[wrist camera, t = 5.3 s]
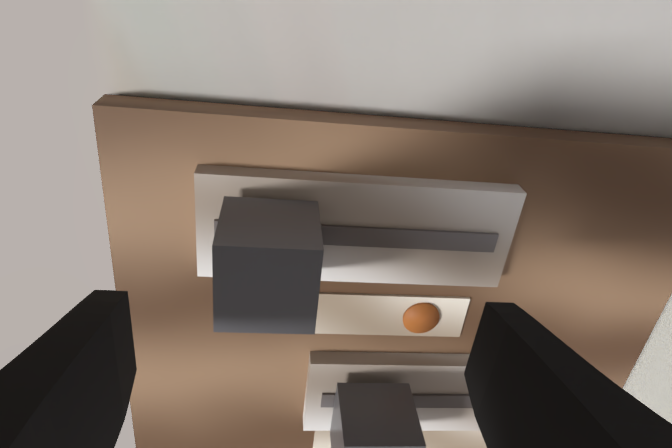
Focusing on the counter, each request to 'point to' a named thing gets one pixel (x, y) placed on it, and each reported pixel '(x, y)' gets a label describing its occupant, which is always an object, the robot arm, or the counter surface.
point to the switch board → (373, 258)
